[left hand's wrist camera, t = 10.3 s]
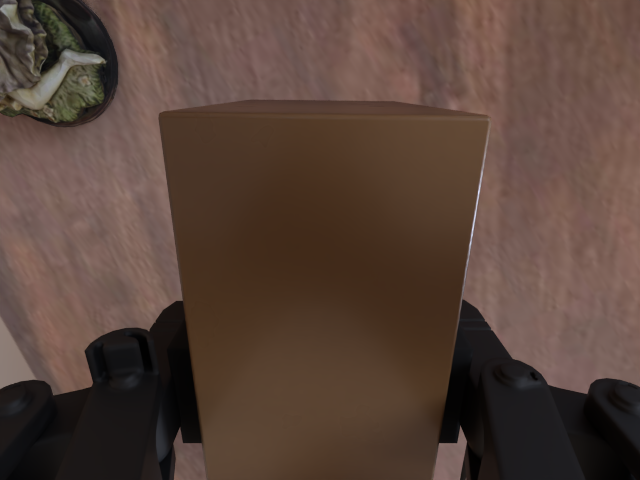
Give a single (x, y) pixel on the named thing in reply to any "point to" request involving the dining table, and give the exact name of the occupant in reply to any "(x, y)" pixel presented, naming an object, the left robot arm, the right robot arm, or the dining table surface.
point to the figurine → (55, 62)
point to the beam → (322, 279)
